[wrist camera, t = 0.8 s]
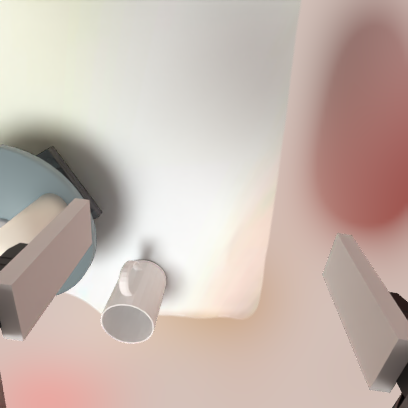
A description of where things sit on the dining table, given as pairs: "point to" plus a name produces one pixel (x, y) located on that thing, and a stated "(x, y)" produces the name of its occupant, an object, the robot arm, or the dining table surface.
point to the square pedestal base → (68, 176)
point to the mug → (134, 302)
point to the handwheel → (35, 203)
